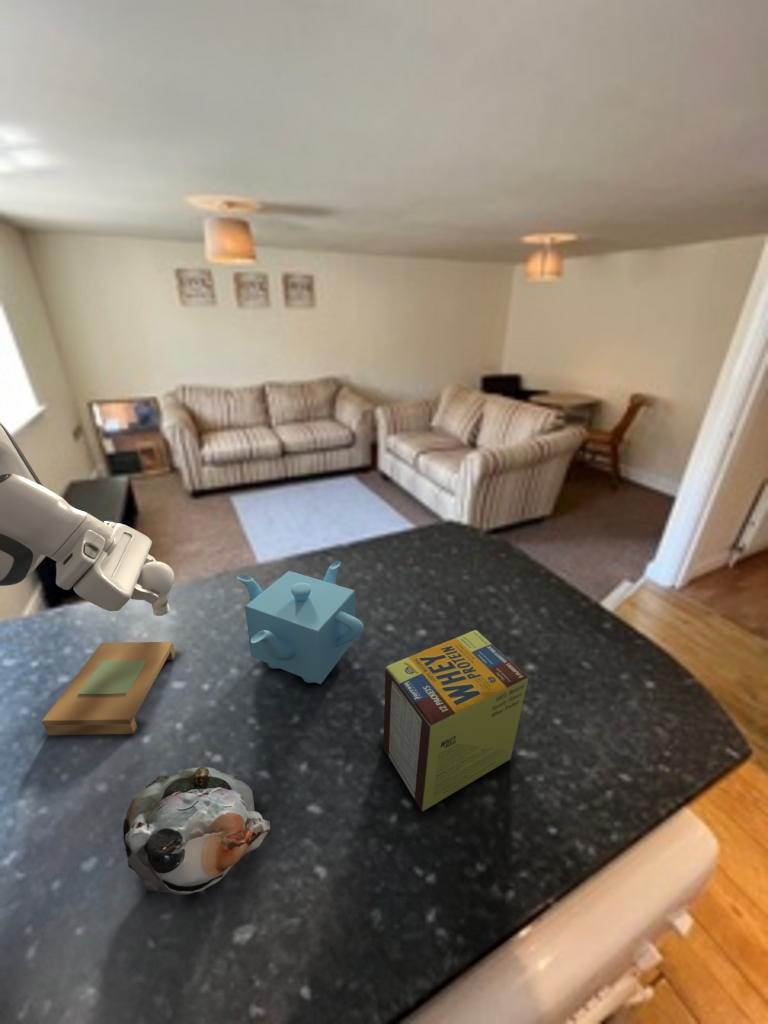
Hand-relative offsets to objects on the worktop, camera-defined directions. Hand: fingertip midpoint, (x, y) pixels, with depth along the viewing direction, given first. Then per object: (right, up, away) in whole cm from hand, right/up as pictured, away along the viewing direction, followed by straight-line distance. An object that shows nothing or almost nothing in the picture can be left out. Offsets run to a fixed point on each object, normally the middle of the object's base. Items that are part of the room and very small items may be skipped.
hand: (160, 586), depth 81 cm
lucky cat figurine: (+20, -25, -29) cm, 44 cm away
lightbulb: (-1, -6, +2) cm, 6 cm away
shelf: (-2, -15, -10) cm, 18 cm away
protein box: (+50, -21, -18) cm, 57 cm away
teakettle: (+26, -12, -1) cm, 28 cm away
